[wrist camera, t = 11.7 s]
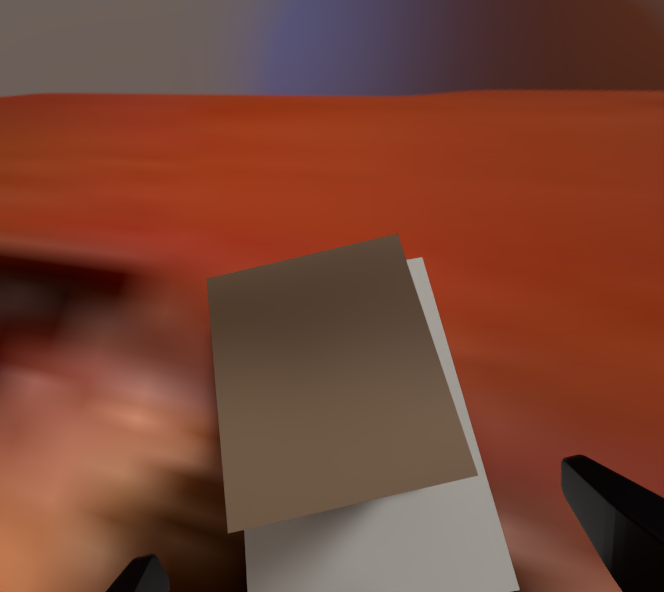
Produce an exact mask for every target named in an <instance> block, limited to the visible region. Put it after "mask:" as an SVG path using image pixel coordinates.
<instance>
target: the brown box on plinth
mask: <svg viewBox="0 0 664 592" xmlns="http://www.w3.org/2000/svg"><path fill="white" fill-rule="evenodd" d="M207 290H208V302H209V314H210V326H211V338H212V350H213V362H214V374H215V385H216V397H217V409H218V421H219V433H220V445H221V457H222V469H223V481H224V493H225V505H226V516H227V528H228V533H232V532H237V531H241V530H245V529H250V528H254V527H258V526H263V525H267V524H271V523H276V522H280V521H284V520H289V519H293V518H297V517H302V516H306V515H310V514H314V513H319V512H323V511H327V510H332V509H336V508H340V507H345V506H349V505H353V504H358V503H362V502H366V501H371V500H375V499H379V498H384V497H388V496H392V495H397V494H401V493H405V492H409V491H414V490H418V489H422V488H427V487H431V486H435V485H440V484H444V483H448V482H453V481H457V480H461V479H466V478H470V477H474V476H478V473H477V470H476V467H475V464H474V461H473V458H472V455H471V452H470V449H469V446H468V443H467V440H466V437H465V434H464V431H463V428H462V425H461V422H460V419H459V416H458V413H457V410H456V407H455V404H454V401H453V398H452V395H451V392H450V389H449V386H448V384H447V381H446V378H445V375H444V372H443V369H442V366H441V363H440V360H439V357H438V354H437V351H436V348H435V345H434V342H433V339H432V336H431V333H430V330H429V327H428V324H427V321H426V318H425V315H424V312H423V309H422V306H421V303H420V300H419V297H418V294H417V291H416V288H415V285H414V282H413V279H412V276H411V273H410V270H409V267H408V264H407V261H406V258H405V255H404V252H403V249H402V246H401V243H400V240H399V237H398V234H395V235H390V236H386V237H382V238H378V239H373V240H369V241H365V242H361V243H357V244H352V245H348V246H344V247H340V248H335V249H331V250H327V251H323V252H318V253H314V254H310V255H306V256H301V257H297V258H293V259H289V260H284V261H280V262H276V263H272V264H267V265H263V266H259V267H255V268H250V269H246V270H242V271H238V272H234V273H229V274H225V275H221V276H217V277H212V278H208V279H207Z"/></svg>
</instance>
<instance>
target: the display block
mask: <svg viewBox="0 0 664 592" xmlns="http://www.w3.org/2000/svg"><path fill="white" fill-rule="evenodd" d="M406 261H407V264H408V267H409V270H410V273H411V276H412V279H413V282H414V285H415V288H416V291H417V294H418V297H419V300H420V303H421V306H422V309H423V312H424V315H425V318H426V321H427V324H428V327H429V330H430V333H431V336H432V339H433V342H434V345H435V348H436V351H437V354H438V357H439V360H440V363H441V366H442V369H443V372H444V375H445V378H446V381H447V384H448V386H449V389H450V392H451V395H452V398H453V401H454V404H455V407H456V410H457V413H458V416H459V419H460V422H461V425H462V428H463V431H464V434H465V437H466V440H467V443H468V446H469V449H470V452H471V455H472V458H473V461H474V464H475V467H476V470H477V473H478V476H474V477H470V478H466V479H461V480H457V481H453V482H448V483H444V484H440V485H435V486H431V487H427V488H422V489H418V490H414V491H409V492H405V493H401V494H397V495H392V496H388V497H384V498H379V499H375V500H371V501H366V502H362V503H358V504H353V505H349V506H345V507H340V508H336V509H332V510H327V511H323V512H319V513H314V514H310V515H306V516H302V517H297V518H293V519H289V520H284V521H280V522H276V523H271V524H267V525H263V526H258V527H254V528H250V529H245V530H244V536H245V555H246V573H247V591H248V592H511V591H517V590H519V586H518V583H517V579H516V576H515V573H514V569H513V566H512V562H511V559H510V555H509V552H508V549H507V545H506V542H505V538H504V535H503V532H502V528H501V525H500V521H499V518H498V514H497V511H496V508H495V504H494V501H493V497H492V494H491V491H490V487H489V484H488V480H487V477H486V474H485V470H484V467H483V463H482V460H481V456H480V453H479V450H478V446H477V443H476V439H475V436H474V433H473V429H472V426H471V422H470V419H469V416H468V412H467V409H466V405H465V402H464V398H463V395H462V392H461V388H460V385H459V381H458V378H457V375H456V371H455V368H454V364H453V361H452V358H451V354H450V351H449V347H448V344H447V340H446V337H445V334H444V330H443V327H442V323H441V320H440V317H439V313H438V310H437V306H436V303H435V300H434V296H433V293H432V289H431V286H430V282H429V279H428V276H427V272H426V269H425V265H424V262H423V259H422V257H421V258H415V259H410V260H406Z"/></svg>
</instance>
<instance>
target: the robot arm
mask: <svg viewBox="0 0 664 592" xmlns="http://www.w3.org/2000/svg"><path fill="white" fill-rule="evenodd" d="M561 487H562V491H563V494H564V496H565V498H566V500H567V502H568V503H569V505H570V507H571V508H572V510H573V512H574V513H575V515H576V517H577V518H578V520H579V522H580V524H581V525H582V527H583V529H584V530H585V532H586V534H587V535H588V537H589V539H590V540H591V542H592V544H593V546H594V547H595V549H596V551H597V552H598V554H599V556H600V557H601V559H602V561H603V562H604V564H605V566H606V567H607V569H608V570H609V572H610V574H611V575H612V577H613V578H614V580H615V581H616V583H617V584H618V586H619V587H620V588H621V590H622V591H623V592H664V498H663V497H661V496H659V495H657V494H655V493H653V492H652V491H650V490H648V489H646V488H644V487H642V486H640V485H639V484H637V483H635V482H633V481H631V480H629V479H627V478H625V477H624V476H622V475H620V474H618V473H616V472H614V471H612V470H610V469H609V468H607V467H605V466H603V465H601V464H599V463H597V462H596V461H594V460H592V459H590V458H588V457H586V456H583V455H575V456H570V457H566V458H563V460H562V461H561ZM169 590H170V582H169V577H168V575H167V573H166V571H165V570H164V568H163V566H162V564H161V563H160V561H159V559H158V557H157V556H156V555H155V554H147V555H143V556H139V557H136V558H134V559H133V560H132V561H131V562H130V563H129V564H128V566H127V567H126V568H125V569H124V570H123V572H122V573H121V574H120V575H119V576H118V578H117V579H116V580H115V581H114V582H113V584H112V585H111V586H110V587H109V588H108V590H107V591H106V592H169Z"/></svg>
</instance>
